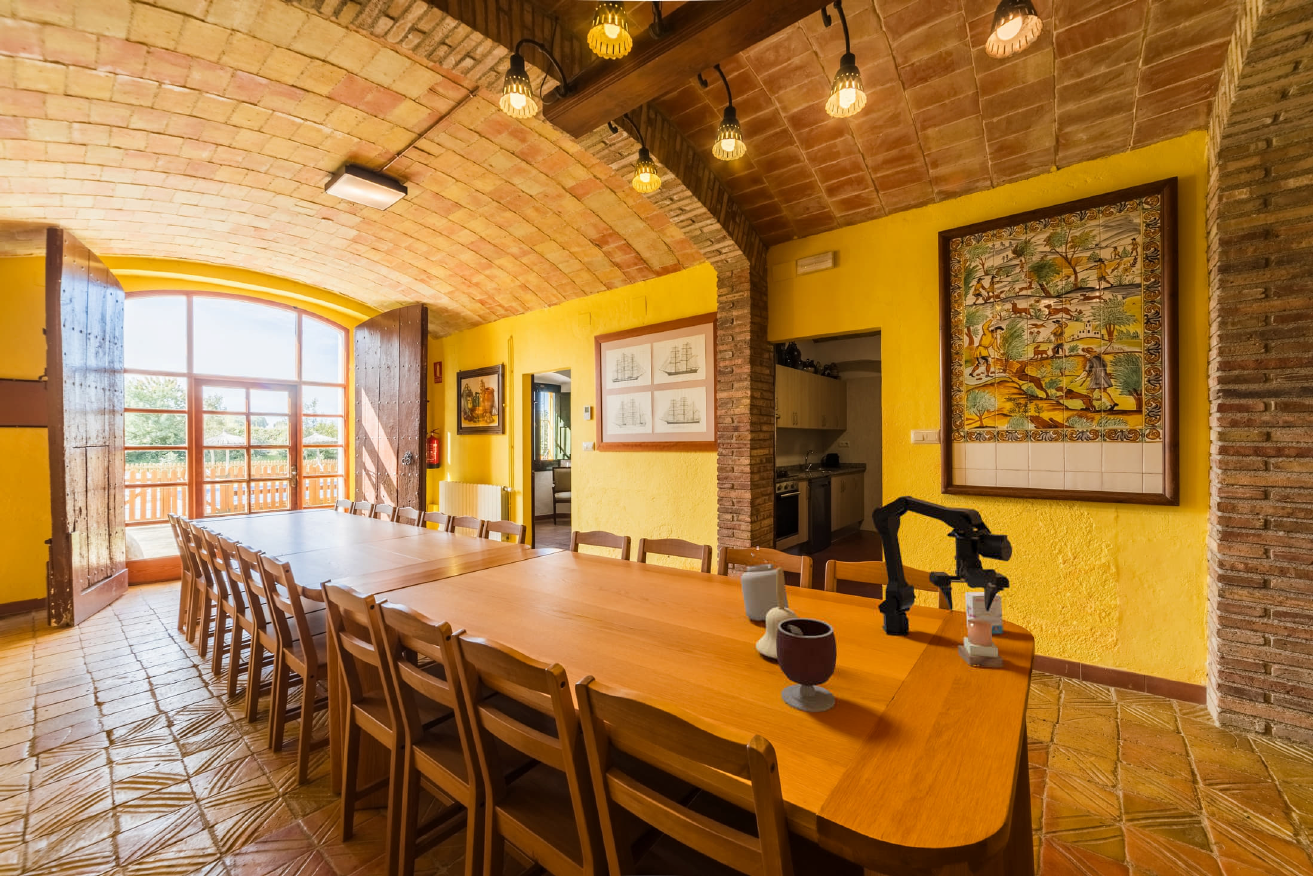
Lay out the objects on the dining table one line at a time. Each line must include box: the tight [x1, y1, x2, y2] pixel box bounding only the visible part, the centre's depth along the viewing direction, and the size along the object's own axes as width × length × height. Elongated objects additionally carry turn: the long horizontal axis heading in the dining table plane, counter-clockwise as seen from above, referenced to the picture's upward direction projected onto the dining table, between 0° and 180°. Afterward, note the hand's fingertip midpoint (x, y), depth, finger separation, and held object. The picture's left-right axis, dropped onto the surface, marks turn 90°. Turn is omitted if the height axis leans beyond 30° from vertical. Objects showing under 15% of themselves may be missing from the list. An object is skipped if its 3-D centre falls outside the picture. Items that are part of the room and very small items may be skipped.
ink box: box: [964, 591, 1004, 635], centre depth 162 cm, size 9×5×12 cm, turn 84°
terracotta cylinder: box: [967, 619, 993, 647], centre depth 141 cm, size 6×6×6 cm
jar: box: [740, 545, 790, 621], centre depth 181 cm, size 19×15×25 cm
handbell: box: [755, 566, 798, 660], centre depth 150 cm, size 15×15×25 cm
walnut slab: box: [957, 645, 1004, 668], centre depth 141 cm, size 8×8×3 cm
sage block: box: [963, 636, 999, 657], centre depth 141 cm, size 6×6×2 cm
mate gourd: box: [776, 617, 838, 713], centre depth 123 cm, size 16×14×20 cm
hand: (968, 610), depth 145 cm, fingers open, 9 cm apart
